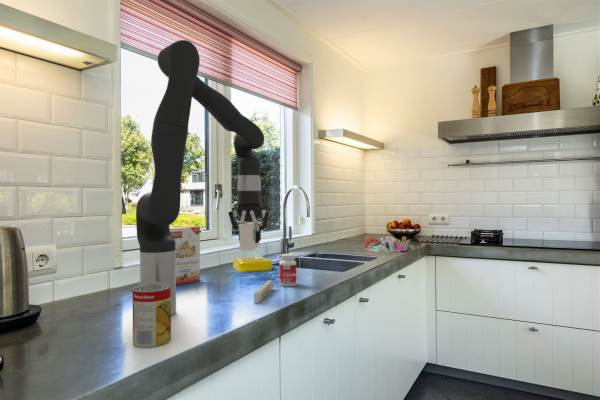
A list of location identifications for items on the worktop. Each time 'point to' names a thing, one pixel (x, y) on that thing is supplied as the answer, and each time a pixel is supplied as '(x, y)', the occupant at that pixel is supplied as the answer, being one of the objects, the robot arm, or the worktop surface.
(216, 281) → the worktop surface
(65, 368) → the worktop surface
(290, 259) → the pill bottle
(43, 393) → the worktop surface
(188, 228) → the cracker box
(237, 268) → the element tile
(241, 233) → the product carton
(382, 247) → the candy landscape model
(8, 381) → the worktop surface
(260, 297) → the rail
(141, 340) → the canned food
